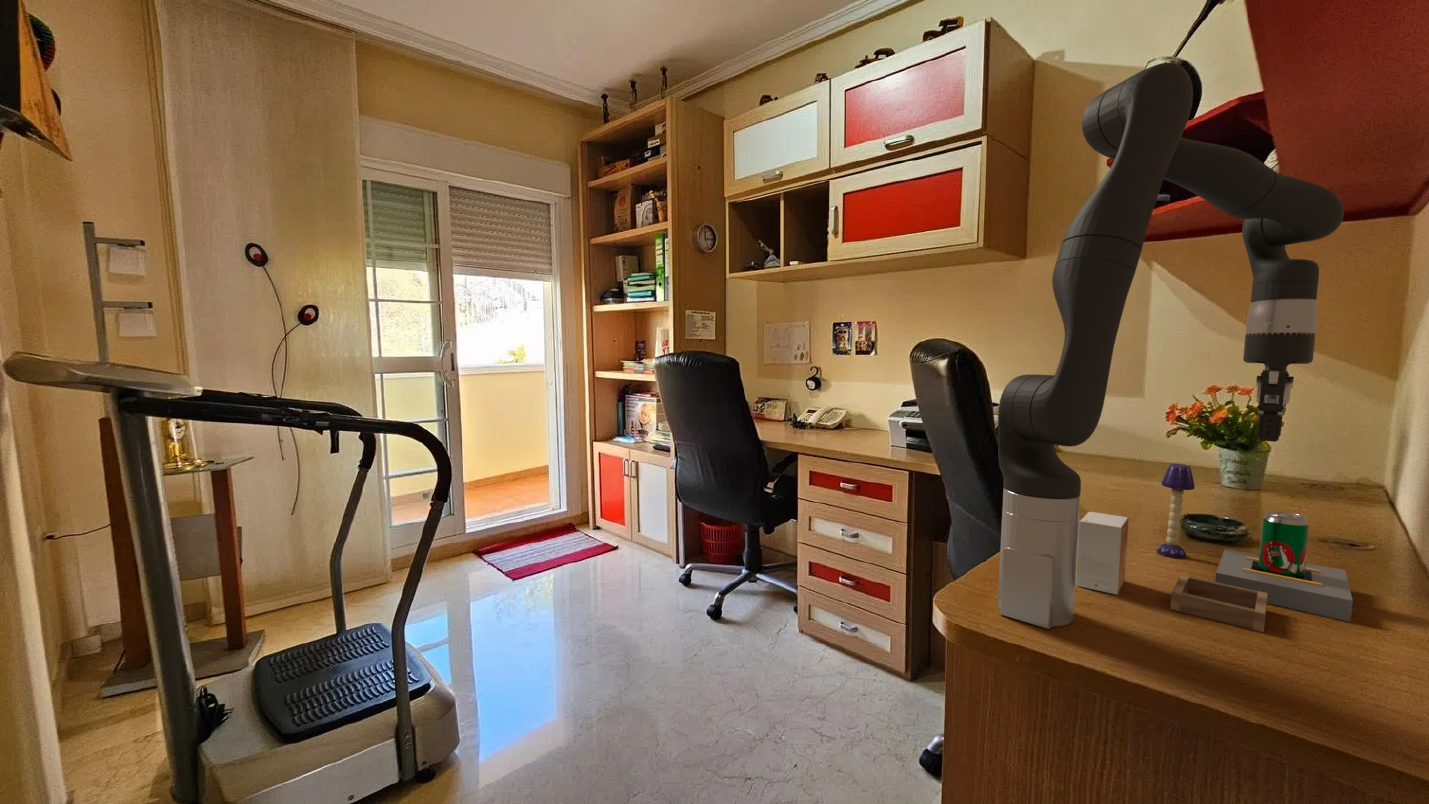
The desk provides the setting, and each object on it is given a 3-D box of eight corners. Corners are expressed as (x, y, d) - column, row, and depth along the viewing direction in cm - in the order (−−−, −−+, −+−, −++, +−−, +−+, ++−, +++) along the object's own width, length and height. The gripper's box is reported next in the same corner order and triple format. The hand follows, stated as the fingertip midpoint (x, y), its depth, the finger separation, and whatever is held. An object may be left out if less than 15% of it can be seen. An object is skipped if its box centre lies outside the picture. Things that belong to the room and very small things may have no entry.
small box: (1117, 596, 86) (1122, 527, 85) (1074, 586, 89) (1078, 520, 89) (1125, 581, 92) (1129, 516, 91) (1084, 572, 95) (1088, 510, 95)
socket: (1350, 622, 78) (1352, 598, 77) (1214, 591, 88) (1216, 570, 87) (1343, 589, 89) (1345, 568, 89) (1223, 565, 99) (1225, 546, 99)
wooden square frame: (1263, 632, 75) (1265, 614, 74) (1170, 609, 81) (1171, 592, 81) (1266, 610, 81) (1267, 592, 81) (1179, 590, 88) (1180, 574, 88)
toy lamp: (1195, 558, 102) (1202, 466, 101) (1177, 561, 101) (1184, 467, 99) (1166, 549, 107) (1173, 461, 105) (1149, 552, 105) (1155, 462, 104)
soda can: (1282, 585, 90) (1289, 510, 89) (1312, 598, 85) (1319, 519, 84) (1247, 583, 91) (1254, 509, 90) (1275, 596, 86) (1282, 518, 85)
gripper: (1316, 328, 78) (1304, 446, 79) (1315, 333, 88) (1304, 438, 89) (1242, 329, 84) (1232, 439, 85) (1248, 334, 93) (1239, 432, 95)
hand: (1269, 438), depth 87 cm, fingers open, 8 cm apart
